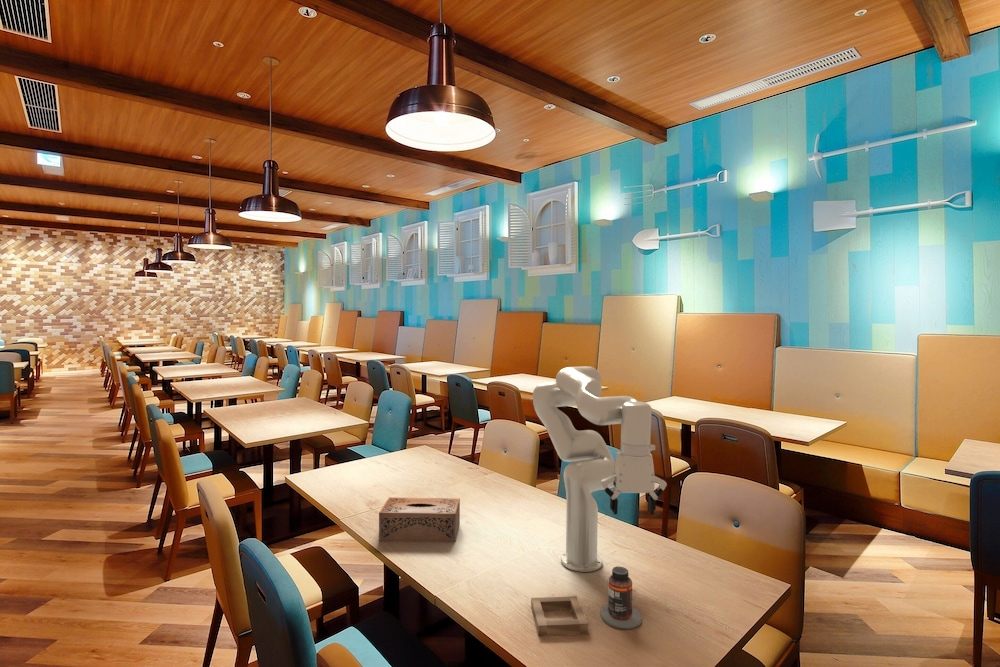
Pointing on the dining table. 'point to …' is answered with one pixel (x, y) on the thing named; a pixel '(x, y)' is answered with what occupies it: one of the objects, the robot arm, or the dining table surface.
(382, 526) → the tissue box cover
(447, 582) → the dining table surface
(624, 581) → the supplement bottle
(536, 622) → the pocket frame
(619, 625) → the coaster
